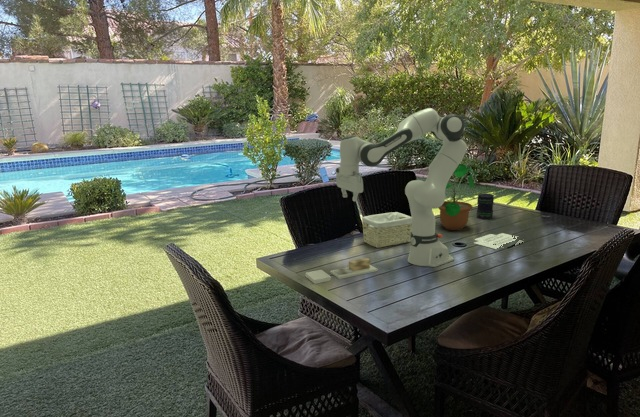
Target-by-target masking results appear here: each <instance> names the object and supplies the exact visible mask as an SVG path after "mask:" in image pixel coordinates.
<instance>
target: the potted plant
mask: <svg viewBox="0 0 640 417" xmlns="http://www.w3.org/2000/svg"><path fill="white" fill-rule="evenodd" d="M468 172H470V173H469V176H468V179H467V180H468V181H467V183H466V184H465V187H464V189H462V192H461V194H460V195H459V196H458V198H457V199H456V194H457V192H458V189H459V186H460V185H461V182H462V180H463V178H464V176H466V175H467V173H468ZM471 172H473V173H474V174H476V172H475V171H474V170H473V169H471V168H467V166H466V165H464V164H462V163H460V164H459V165H458V167H457V168H456V170H455V171H454V173H453V174H454V175H455V179H454V183H456V180H457V178H461V179H460V182H459V183H458V186H457V189H456V184H452V183H451V182H450V181H451V180H449V181H448V183H447V185H446V190H447V192H448V194H449V196H450V198H452V199H453V200H451V201H450V200H449V199H447V198H445V200H446V201H444V203H443V204H442V205H441V206H440V207H438V208H437V209H439V220H440V222H441V225H442V226H443V227H444V228H445V229H446V230H448V231H461V230H463V228H464V227H465V226H466V225H467V224H468V221H469V218H470V217H469V215H470V214H469V213H470V212H471V210H472V209H473V204H471V203H469V202H465V201H459V199H460V198H461V197H462V194H463V193H464V191H465V189H466V187H467V185H469V187H470V188H473V187H474V186H475V182H474V176H473V175H472V174H473V173H471ZM453 186H454V187H453ZM448 189H449V190H448Z"/></svg>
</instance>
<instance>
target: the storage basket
mask: <svg viewBox="0 0 640 417" xmlns="http://www.w3.org/2000/svg"><path fill="white" fill-rule="evenodd" d="M361 221H362V222H361V223H362V232H363V234H362V235H363V242H364V243H366V244H368V245H370V246H372V247H374V248H377V249H379V248H383V247H389V246H396V245H400V244H405V243H409V242H410V237H411V232H412V216H410V215H407V214H405V213H401V212H398V211H395V212H392V211H391V212H385V213H378V214H371V215H365V216H362V218H361Z"/></svg>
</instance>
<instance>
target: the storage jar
mask: <svg viewBox="0 0 640 417" xmlns="http://www.w3.org/2000/svg"><path fill="white" fill-rule="evenodd" d="M494 197H495V196H494V194H491V193H479V194H477V200H476V201H477V202H476V203H477V208H476V219H478V220H483V221H487V220H488V221H489V220H493V216H494V215H493V214H494V210H493V208H494V200H495V199H494Z"/></svg>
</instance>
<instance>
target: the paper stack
mask: <svg viewBox="0 0 640 417" xmlns="http://www.w3.org/2000/svg"><path fill="white" fill-rule="evenodd" d="M512 235H513V234H508V233H504V232H501V233H498V234H492V233H488V234H486V235H483V236H480V237H477V238H475V239H473V240H474V241H475V242H473V244H475V245H479V246H483V247H487V248H490V249H494V250H498V249H500V248H499V247H500V246H501V245H502V246H503V244H506V243H509V242H512V241H515V240H516V239H517V237H518V236H517V235H513V237H512ZM514 236H515V238H516V239H513V238H514ZM522 242H523V240H519V241H518V242H517V243H516V244H515V246H517V245H519V243H520V244H523V243H522ZM493 244H494V245H493ZM495 244H496V245H495ZM502 246H501V248H503V247H502ZM497 248H498V249H497Z"/></svg>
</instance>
